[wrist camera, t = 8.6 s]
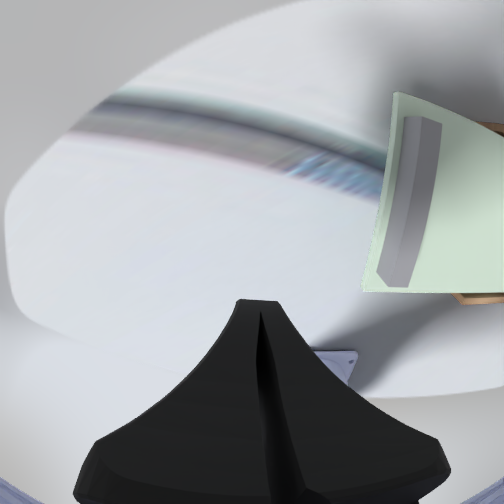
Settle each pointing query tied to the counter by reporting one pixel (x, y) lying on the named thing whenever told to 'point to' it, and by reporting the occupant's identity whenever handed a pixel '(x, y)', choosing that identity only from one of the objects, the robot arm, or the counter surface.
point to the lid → (438, 205)
